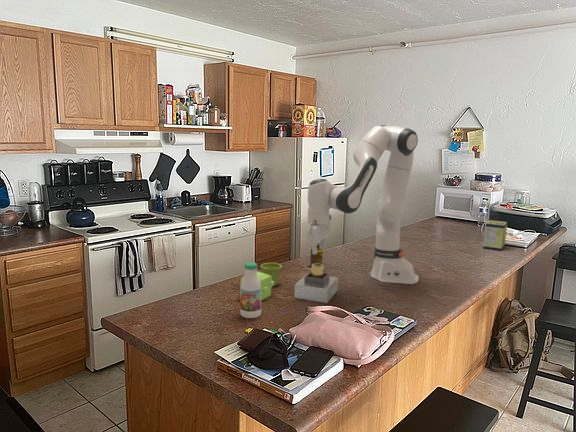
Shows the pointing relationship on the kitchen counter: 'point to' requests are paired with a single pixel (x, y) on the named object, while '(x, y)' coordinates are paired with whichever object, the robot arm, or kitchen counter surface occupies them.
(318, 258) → the condiment
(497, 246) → the protein box
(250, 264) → the milk bottle
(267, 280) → the green teapot
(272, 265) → the plant pot
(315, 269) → the tan cylinder
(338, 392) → the kitchen counter surface
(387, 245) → the robot arm
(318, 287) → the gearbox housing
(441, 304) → the kitchen counter surface
